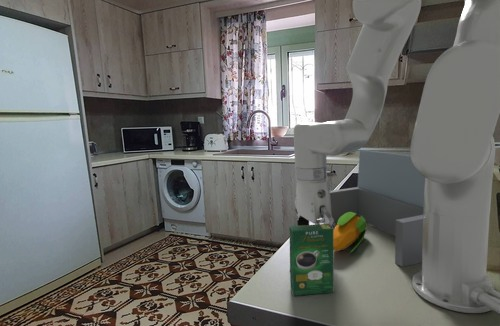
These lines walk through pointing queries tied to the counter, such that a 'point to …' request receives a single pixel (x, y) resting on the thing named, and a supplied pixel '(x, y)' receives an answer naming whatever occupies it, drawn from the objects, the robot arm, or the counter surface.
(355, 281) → the counter surface
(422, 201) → the cover
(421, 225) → the grey bridge shelf
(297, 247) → the coffee box
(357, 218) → the corn
